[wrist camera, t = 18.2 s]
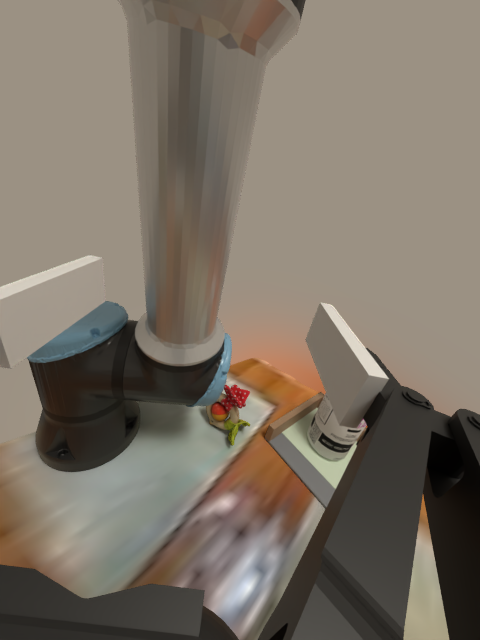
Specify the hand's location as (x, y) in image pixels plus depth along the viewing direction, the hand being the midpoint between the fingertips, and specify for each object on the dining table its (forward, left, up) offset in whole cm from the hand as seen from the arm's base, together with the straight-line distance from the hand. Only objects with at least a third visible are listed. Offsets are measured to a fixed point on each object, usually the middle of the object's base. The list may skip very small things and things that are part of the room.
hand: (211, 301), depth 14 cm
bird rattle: (-11, +16, -35) cm, 40 cm away
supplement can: (+3, +32, -35) cm, 47 cm away
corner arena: (+4, +31, -35) cm, 47 cm away
